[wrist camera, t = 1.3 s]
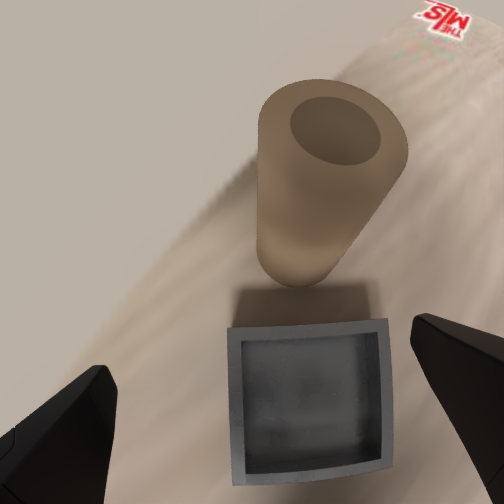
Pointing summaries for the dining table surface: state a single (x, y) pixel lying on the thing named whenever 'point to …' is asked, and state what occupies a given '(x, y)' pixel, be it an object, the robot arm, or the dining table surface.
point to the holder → (309, 401)
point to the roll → (321, 175)
